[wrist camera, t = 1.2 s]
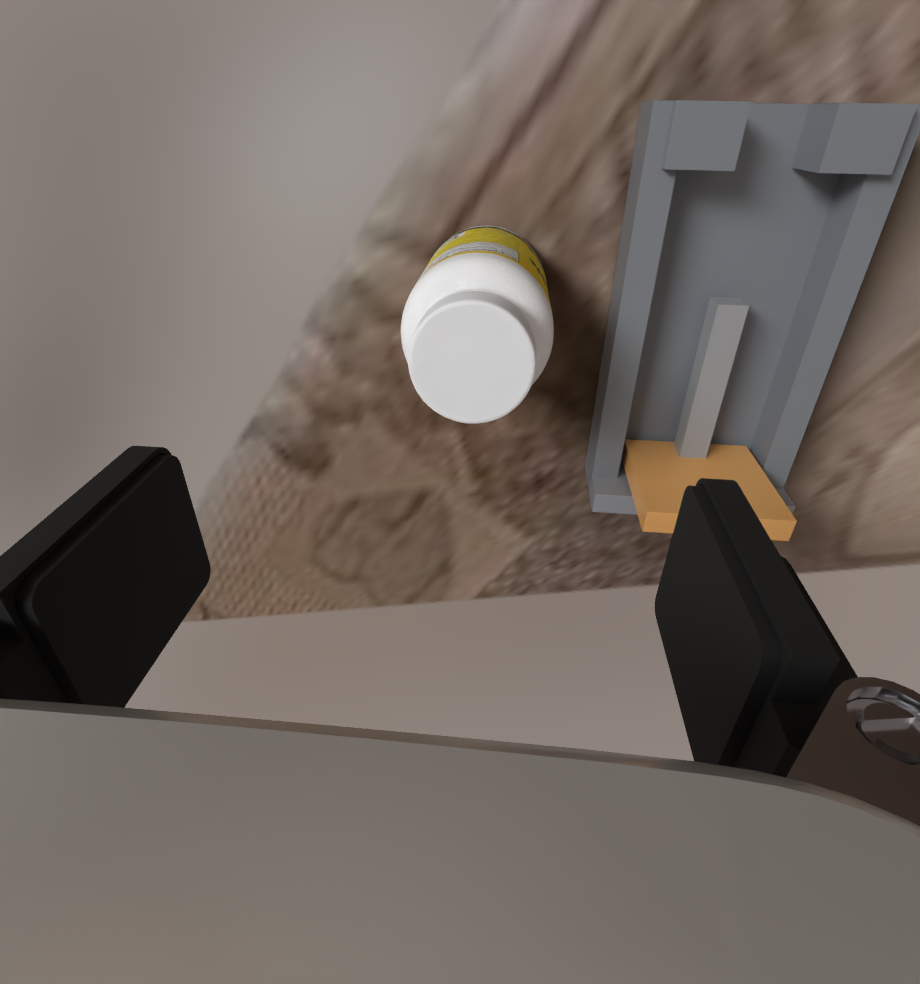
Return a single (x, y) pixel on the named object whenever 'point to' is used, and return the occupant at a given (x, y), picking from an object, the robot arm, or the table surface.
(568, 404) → the table surface
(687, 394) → the pusher
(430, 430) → the table surface
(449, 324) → the supplement bottle
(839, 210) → the lane base
